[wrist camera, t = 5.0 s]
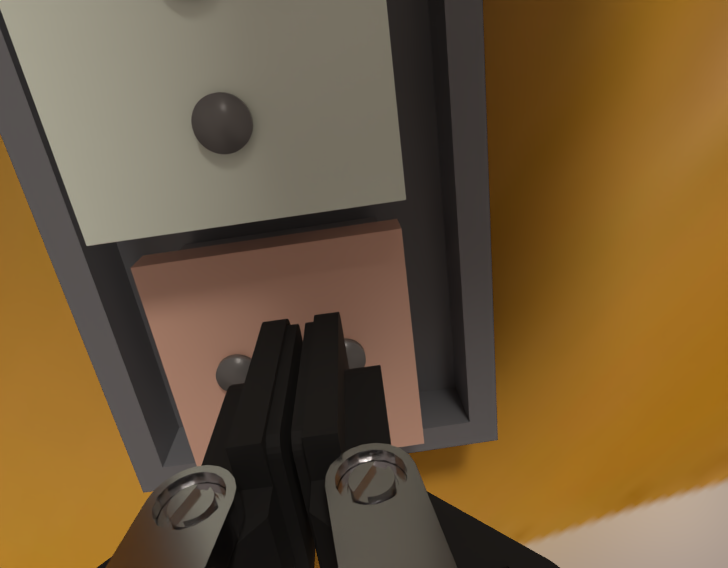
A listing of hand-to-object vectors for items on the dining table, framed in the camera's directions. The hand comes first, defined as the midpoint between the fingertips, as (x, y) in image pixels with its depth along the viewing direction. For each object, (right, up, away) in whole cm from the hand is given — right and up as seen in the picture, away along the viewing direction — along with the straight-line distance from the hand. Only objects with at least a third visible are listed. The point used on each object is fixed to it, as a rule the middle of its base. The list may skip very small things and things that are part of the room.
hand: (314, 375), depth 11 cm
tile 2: (-2, +7, -1) cm, 7 cm away
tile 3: (-1, +1, +4) cm, 4 cm away
